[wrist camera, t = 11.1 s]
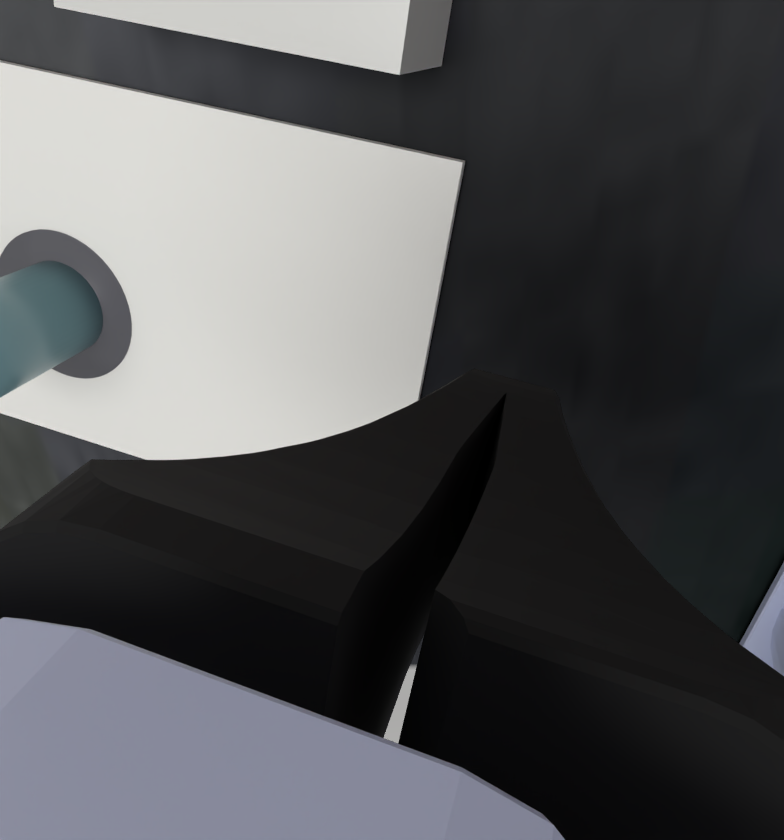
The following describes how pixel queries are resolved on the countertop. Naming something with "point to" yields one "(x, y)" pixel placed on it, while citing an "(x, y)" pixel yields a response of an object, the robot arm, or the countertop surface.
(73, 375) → the paper
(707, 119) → the countertop surface
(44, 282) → the teal cylinder
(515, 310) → the countertop surface
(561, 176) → the countertop surface
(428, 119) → the countertop surface
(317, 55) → the button housing
